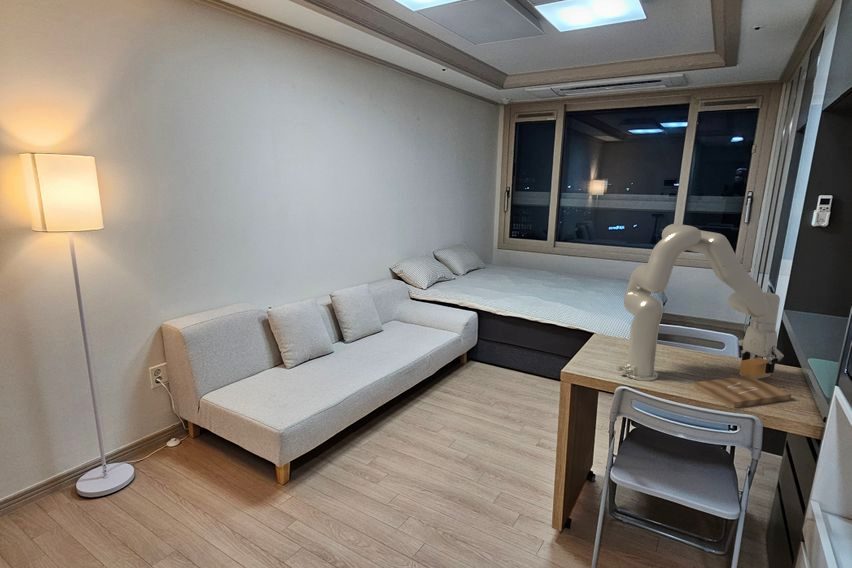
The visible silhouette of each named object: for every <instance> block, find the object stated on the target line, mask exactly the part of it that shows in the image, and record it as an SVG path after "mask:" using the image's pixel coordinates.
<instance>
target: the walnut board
mask: <svg viewBox="0 0 852 568" xmlns="http://www.w3.org/2000/svg"><path fill="white" fill-rule="evenodd" d="M693 387H694V388H695V389H696V390H698V391H700V392H703V393H705V395H708V396H710V397H712V398H714V399H716V400H718V401H719V402H721V403H723V404H725V405H727V406H729V407H731V408H732V409H736V408H744V407H750V406H751V407H752V406H757V405H764V404H770V403H777V402H783V401H791V399H792V395H793V394H792V393H790V392H788V391H785V390H784V389H780V388H778V387H775V386H773V385H772V384H771V385H770V384H768V383H767V382H764V381H762V380H759V379H755V378H753V377H750V376H741V375H740V376H735V377H734V376H732V377H727V378H726V377H725V378H719V379H711V380H702V381H695V382H694V386H693Z"/></svg>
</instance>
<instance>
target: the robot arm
mask: <svg viewBox="0 0 852 568" xmlns="http://www.w3.org/2000/svg"><path fill="white" fill-rule="evenodd" d="M685 251H689V252H695V253H697V254H701V255H704V256H705V258H706V260H707V262H708V263H709V266H710V267H711V269H712V270H713V273H714V275H715V276H716V278H717V279H719V280H720V281H721V282H722V283H723V284H725V285H726V286H728V287H729V288H731V290H733V291H734V292H733V293H731V294H730V295H729V297H728V299H727V303H728V305H729V307H730V308H732V309H733V310H734V311H735V310H736V311H738V312H739V313H743V314H744V315H747V316H749V317H751V318H749V320H748V322H749V323H750V325H748V327H747V328H746V330H745V334H744V337H743V339H739V340H737V342H738V346H739V347H738V348H739V349H740V353H741V354H742V355H741V357H742V358H741V361H743V360H748V359H751V354H753V355H756V356H757V357H760V358H765V359H766V360H767V361H768V363H767V364H766V370H765V373H767V374H768V373H771V374H773V373H774V372H775V365H776V364H778V363H779V362H781V361H782V359H783V358H784V357H785V356H784V354H783V352H781V351H780V350H779V349H778V348H777V347H778V332H777V331H776V328H777V327H776V326H777V322H778V314H779V307H780V302H781V297H780V296H779V295H778V294H777V293H773V292H764V291H763V289H762V287H761V286H760V285H759V283H758V282H757V281H756V280H755V279H754V278H753V277H752V275H750V273H748V271H747V270H746V269H745V268H744V267H743V265H741V263H740V261H739V259H738V257H737V255H736V253H735V251H734V249H733V247H732V245H731V243H730V241H729V240H728V239H727V237H726V236H725V235H723V234H722V233H718V232H713V231H706V230H701V229H699V228H697V227H695V226H692V225H686V224H682V223H681V224H679V223H671V224H669V225H667V226H666V227H664V229H663V230H662V233H661V239H660V240H659V241H658V242H657V243H656V244H655V246H654V247H653V249H652V250H651V254H650V255H649V259H648V261H647V263H643V264H640V265H638V266H637V267H636V268H635V269H633V270H632V273H631V276H630V278H629V281H628V285H627V286H626V287H627V288H626V292H625V295H624V299H623V305H624V308H625V309H626V311H628V312H629V313H630V314H631V315H633V320H632V322H631V325H630V331H629V341H628V343H629V344H628V353H627V360H626V361H625V362H624V364H623V365H616V366H615V370H616V371H617V372H622V374H623V375H624V376H625V377H628V378H630V379H631V380H637V381H646V382H648V381H649V382H651V381H655V380H657V379H658V377H659V373H658V372H657V371H656V370H655V362H656V354H657V346H658V337H659V336H658V335H659V328H660V323H661V321H662V317H663V314H664V309H663V308H664V307H663V305H662V303H661V301H660V300H659V299H657V297H654V296H653V295H652V294H660V293H662V292H664V291H665V290H666V288H667V287H668V285H669V281H670V279H671V278H670V277H671V276H672V273H673V270H674V266H675V263H676V261H677V259H678V258H679V256H680V255H682V254H683V253H684V252H685Z"/></svg>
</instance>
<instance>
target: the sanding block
mask: <svg viewBox="0 0 852 568" xmlns="http://www.w3.org/2000/svg"><path fill="white" fill-rule="evenodd" d="M767 363H768V361H767V359H766V358H764V357H760V356H757V357H754V358H750V359H748V360H743V361H742V360H741V361H740V367H739V376H740V377H741V376H750V377H753V378H755V379H757V380H759V379H762V378H763V379H764V378H768V377H771V374H772V373H768V374H767V373H765V370H766V364H767Z"/></svg>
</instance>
